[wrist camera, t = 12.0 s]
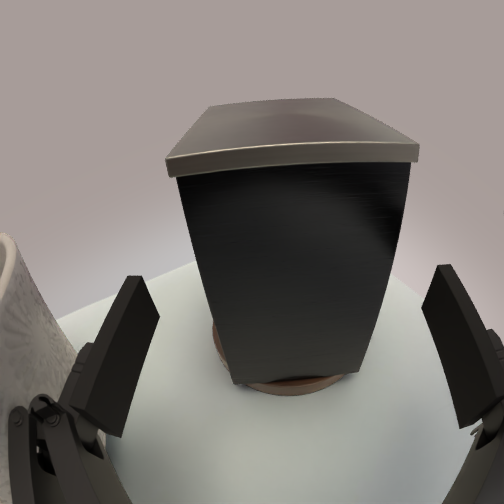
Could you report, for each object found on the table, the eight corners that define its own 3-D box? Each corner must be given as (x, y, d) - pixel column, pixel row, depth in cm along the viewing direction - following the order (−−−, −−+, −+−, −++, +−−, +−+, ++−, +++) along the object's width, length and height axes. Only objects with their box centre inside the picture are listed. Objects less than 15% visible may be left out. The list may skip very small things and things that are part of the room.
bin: (326, 254, 30) (328, 95, 20) (362, 374, 19) (420, 144, 9) (236, 261, 30) (211, 103, 21) (230, 387, 19) (163, 158, 9)
